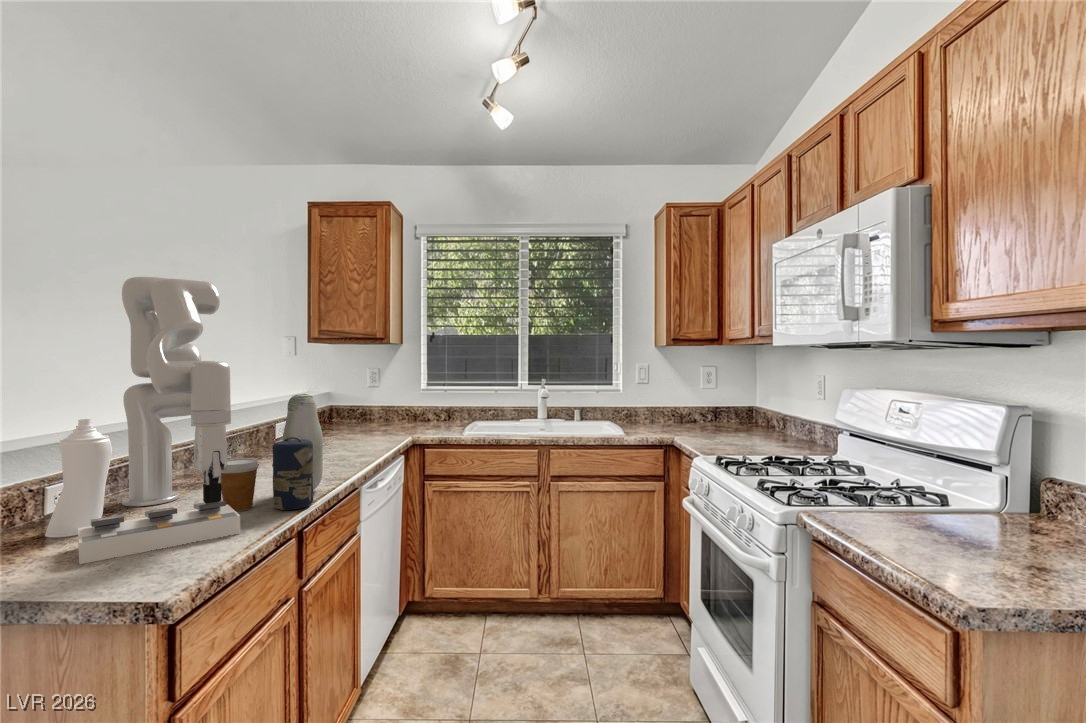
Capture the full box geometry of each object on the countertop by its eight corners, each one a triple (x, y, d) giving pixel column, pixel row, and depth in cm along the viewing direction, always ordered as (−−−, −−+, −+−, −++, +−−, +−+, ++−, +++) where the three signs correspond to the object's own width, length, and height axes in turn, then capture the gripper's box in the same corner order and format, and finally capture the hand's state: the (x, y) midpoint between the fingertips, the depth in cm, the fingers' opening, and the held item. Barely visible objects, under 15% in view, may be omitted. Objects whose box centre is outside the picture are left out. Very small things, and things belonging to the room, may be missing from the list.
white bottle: (109, 520, 132) (108, 415, 132) (116, 530, 124) (114, 418, 124) (43, 531, 124) (42, 419, 124) (46, 542, 116) (45, 423, 116)
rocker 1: (90, 524, 114) (90, 519, 114) (121, 519, 117) (121, 514, 117) (91, 527, 108) (91, 521, 108) (124, 521, 112) (123, 516, 112)
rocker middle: (144, 516, 119) (144, 510, 120) (172, 511, 123) (172, 506, 123) (148, 518, 114) (148, 512, 114) (177, 513, 117) (177, 508, 118)
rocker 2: (193, 508, 125) (193, 503, 125) (219, 504, 129) (219, 499, 129) (199, 510, 120) (199, 504, 120) (225, 505, 123) (225, 500, 123)
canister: (287, 514, 137) (287, 441, 136) (265, 508, 142) (264, 438, 141) (321, 505, 145) (321, 436, 144) (299, 500, 150) (298, 433, 150)
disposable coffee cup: (207, 511, 139) (207, 463, 139) (241, 502, 148) (240, 457, 148) (235, 515, 136) (234, 466, 136) (267, 505, 145) (267, 459, 145)
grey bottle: (296, 487, 164) (295, 392, 164) (329, 488, 163) (328, 392, 162) (276, 496, 154) (275, 395, 154) (310, 497, 153) (309, 395, 153)
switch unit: (78, 547, 113) (77, 524, 113) (228, 521, 131) (227, 501, 131) (79, 564, 104) (78, 539, 104) (240, 533, 122) (240, 512, 122)
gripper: (185, 416, 125) (186, 498, 125) (197, 422, 114) (198, 512, 114) (223, 414, 130) (224, 493, 130) (238, 419, 119) (239, 505, 119)
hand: (212, 501), depth 122 cm, fingers closed
